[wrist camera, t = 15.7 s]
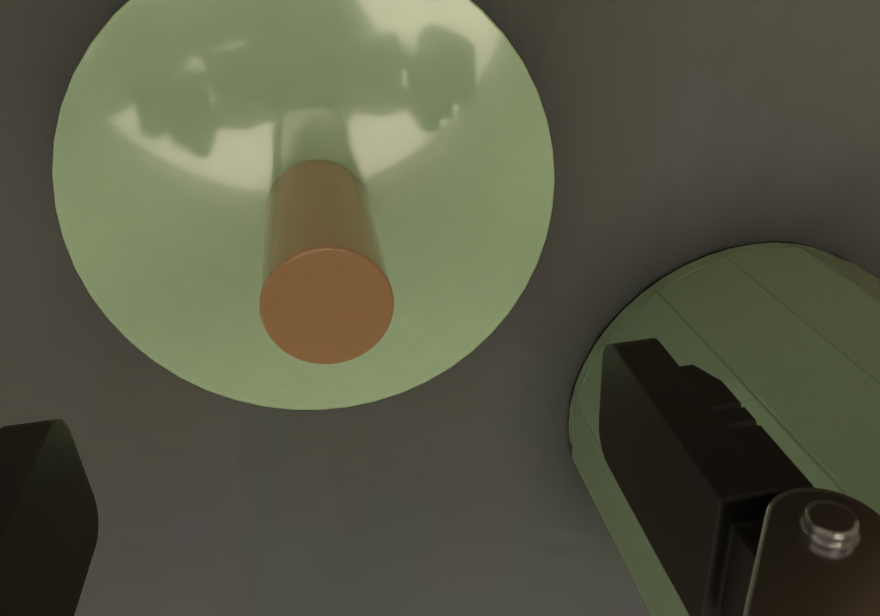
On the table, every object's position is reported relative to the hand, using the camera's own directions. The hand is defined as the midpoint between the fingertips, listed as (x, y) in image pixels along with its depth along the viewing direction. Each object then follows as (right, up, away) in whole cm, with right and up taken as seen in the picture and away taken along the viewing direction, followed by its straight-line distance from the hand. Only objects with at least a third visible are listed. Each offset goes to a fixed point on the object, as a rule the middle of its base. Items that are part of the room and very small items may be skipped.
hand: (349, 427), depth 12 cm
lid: (-2, +5, +8) cm, 10 cm away
